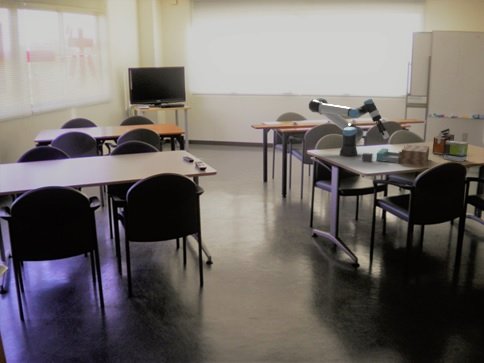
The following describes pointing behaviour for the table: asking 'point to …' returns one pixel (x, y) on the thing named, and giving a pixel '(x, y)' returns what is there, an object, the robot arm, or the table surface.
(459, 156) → the tea box
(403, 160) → the wooden drawer cabinet
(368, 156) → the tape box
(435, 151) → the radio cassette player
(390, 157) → the drawer
